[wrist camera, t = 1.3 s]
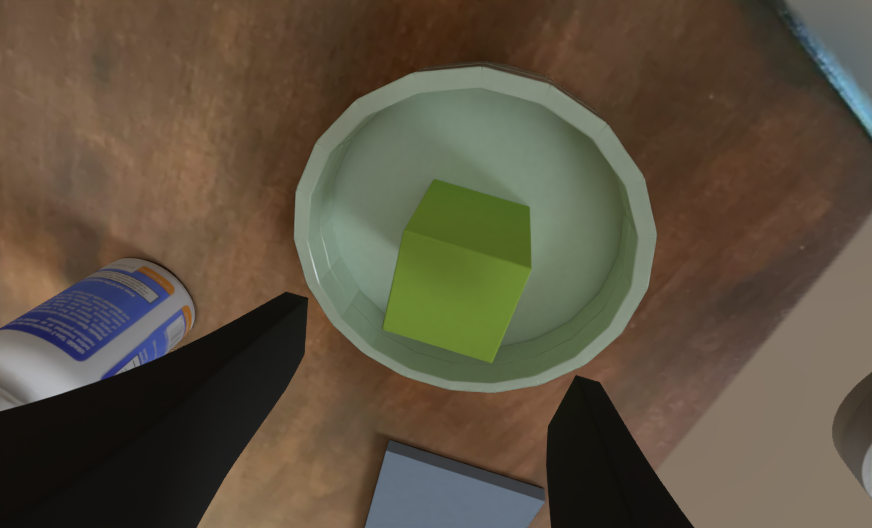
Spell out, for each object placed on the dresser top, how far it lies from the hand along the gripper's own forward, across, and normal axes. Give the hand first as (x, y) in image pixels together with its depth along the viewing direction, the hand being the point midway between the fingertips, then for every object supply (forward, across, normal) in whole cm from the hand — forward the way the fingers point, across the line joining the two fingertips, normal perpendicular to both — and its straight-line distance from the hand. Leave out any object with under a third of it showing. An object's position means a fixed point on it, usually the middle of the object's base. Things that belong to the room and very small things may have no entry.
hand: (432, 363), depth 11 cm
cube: (+8, 0, 0) cm, 8 cm away
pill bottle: (+9, +16, +9) cm, 20 cm away
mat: (+8, -4, +33) cm, 35 cm away
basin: (+8, 0, 0) cm, 8 cm away
